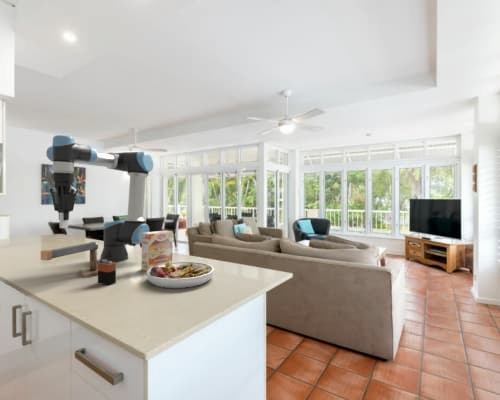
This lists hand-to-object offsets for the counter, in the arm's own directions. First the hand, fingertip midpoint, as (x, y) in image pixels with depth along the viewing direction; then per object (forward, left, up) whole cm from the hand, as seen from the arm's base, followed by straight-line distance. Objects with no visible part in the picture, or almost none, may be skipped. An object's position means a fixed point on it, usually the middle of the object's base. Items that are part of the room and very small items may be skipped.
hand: (63, 227), depth 118 cm
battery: (-14, +9, -25) cm, 30 cm away
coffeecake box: (-42, 0, -25) cm, 49 cm away
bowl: (-41, +26, -25) cm, 55 cm away
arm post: (-14, -11, -25) cm, 30 cm away
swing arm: (-5, -5, -13) cm, 14 cm away
